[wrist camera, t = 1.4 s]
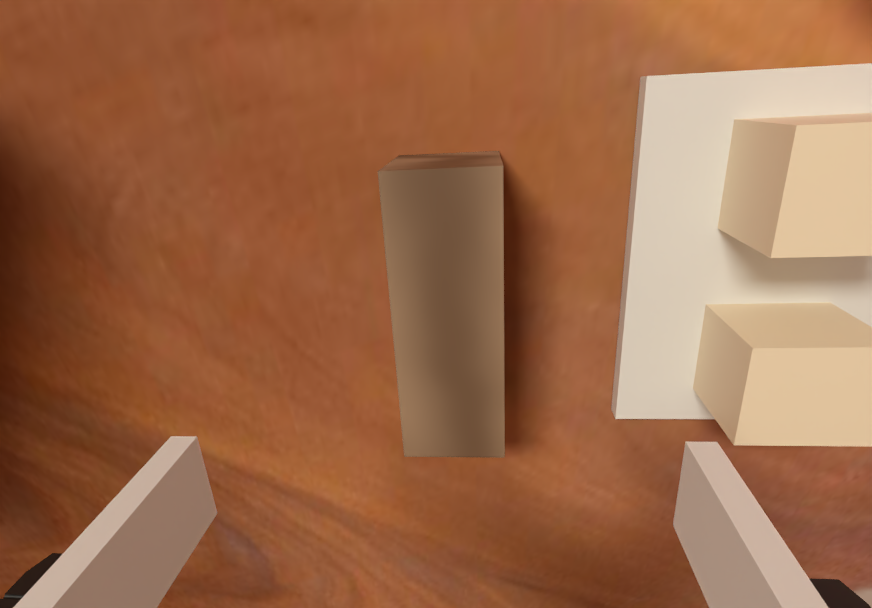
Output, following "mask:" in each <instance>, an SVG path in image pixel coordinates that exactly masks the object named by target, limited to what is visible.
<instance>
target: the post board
mask: <svg viewBox="0 0 872 608" xmlns="http://www.w3.org/2000/svg"><path fill="white" fill-rule="evenodd" d="M611 409H612V412H613V414H614V417H615V419H715V420H716V421H717V423H718V424H719V425H720V427H721V428H722V430H723V431H724V432H725V434H726V435H727V437H728V438H729V439H730V441H731V442H732V443H733V445H762V446H872V63H870V64H852V65H835V66H817V67H800V68H782V69H765V70H747V71H729V72H712V73H694V74H677V75H659V76H644V77H640V88H639V99H638V111H637V122H636V134H635V145H634V157H633V168H632V179H631V191H630V202H629V214H628V225H627V236H626V248H625V259H624V271H623V282H622V294H621V305H620V316H619V328H618V339H617V351H616V362H615V373H614V385H613V396H612V408H611Z"/></svg>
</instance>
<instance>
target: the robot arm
mask: <svg viewBox="0 0 872 608" xmlns="http://www.w3.org/2000/svg"><path fill="white" fill-rule="evenodd" d="M216 515H217V510H216V506H215V502H214V498H213V495H212V491H211V487H210V483H209V480H208V476H207V472H206V468H205V465H204V461H203V457H202V453H201V450H200V446H199V442H198V438H197V437H193V436H171V437H170V438H169V439H168V440H167V441H166V442H165V444H164V445H163V446H162V447H161V448H160V449H159V450H158V451H157V452H156V453H155V454H154V455H153V457H152V458H151V459H150V460H149V461H148V462H147V463H146V464H145V465H144V466H143V467H142V468H141V470H140V471H139V472H138V473H137V474H136V475H135V476H134V477H133V478H132V479H131V480H130V482H129V483H128V484H127V485H126V486H125V487H124V488H123V489H122V490H121V491H120V492H119V493H118V495H117V496H116V497H115V498H114V499H113V500H112V501H111V502H110V503H109V504H108V505H107V506H106V508H105V509H104V510H103V511H102V512H101V513H100V514H99V515H98V516H97V517H96V518H95V519H94V521H93V522H92V523H91V524H90V525H89V526H88V527H87V528H86V529H85V530H84V531H83V532H82V534H81V535H80V536H79V537H78V538H77V539H76V540H75V541H74V542H73V543H72V544H71V545H70V547H69V548H68V549H67V550H66V551H65V552H64V553H63V554H58V553H52V554H51V555H50V556H48V557H47V558H45V559H44V560H43V561H41V562H40V563H38V564H37V565H35V566H34V567H33V568H31V569H30V570H28V571H27V572H26V573H25V574H24V575H23V576H22V577H21V578H20V579H19V580H18V581H17V582H16V583H15V584H14V585H13V586H12V587H11V588H10V589H9V590H8V591H7V592H6V593H5V596H4V598H3V599H0V608H157V607H158V605H159V604H160V602H161V600H162V599H163V597H164V596H165V594H166V593H167V591H168V589H169V588H170V586H171V585H172V583H173V582H174V580H175V579H176V577H177V575H178V574H179V572H180V571H181V569H182V568H183V566H184V565H185V563H186V561H187V560H188V558H189V557H190V555H191V554H192V552H193V551H194V549H195V547H196V546H197V544H198V543H199V541H200V540H201V538H202V536H203V535H204V533H205V532H206V530H207V529H208V527H209V526H210V524H211V522H212V521H213V519H214V518H215V516H216ZM673 526H674V529H675V531H676V533H677V535H678V538H679V540H680V542H681V545H682V547H683V549H684V551H685V554H686V556H687V558H688V560H689V563H690V565H691V567H692V570H693V572H694V574H695V576H696V579H697V581H698V583H699V586H700V588H701V590H702V592H703V595H704V597H705V599H706V602H707V604H708V606H709V608H871V607H870V606H869V605H868V604H867V603H866V602H865V601H864V600H863V599H861V598H860V597H859V596H858V595H856V594H855V593H854V592H853V591H852V590H851V589H849V588H848V587H847V586H846V585H845V584H843V583H842V582H841V581H840V580H834V579H809V578H808V576H807V575H806V573H805V572H804V570H803V569H802V567H801V566H800V565H799V563H798V562H797V560H796V559H795V557H794V556H793V554H792V553H791V551H790V550H789V548H788V547H787V545H786V544H785V542H784V541H783V539H782V538H781V536H780V535H779V533H778V532H777V530H776V529H775V527H774V526H773V524H772V523H771V521H770V520H769V518H768V517H767V515H766V514H765V512H764V511H763V509H762V508H761V506H760V505H759V503H758V502H757V501H756V499H755V498H754V496H753V495H752V493H751V492H750V490H749V489H748V487H747V486H746V484H745V483H744V481H743V480H742V478H741V477H740V475H739V474H738V472H737V471H736V469H735V468H734V466H733V465H732V463H731V462H730V460H729V459H728V457H727V456H726V454H725V453H724V451H723V450H722V448H721V447H720V445H719V444H718V442H686V443H685V449H684V456H683V462H682V469H681V476H680V482H679V489H678V495H677V502H676V508H675V515H674V522H673Z"/></svg>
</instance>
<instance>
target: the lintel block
mask: <svg viewBox="0 0 872 608" xmlns="http://www.w3.org/2000/svg"><path fill="white" fill-rule="evenodd" d="M378 179H379V190H380V201H381V211H382V222H383V233H384V244H385V254H386V265H387V276H388V287H389V297H390V308H391V319H392V329H393V340H394V351H395V362H396V372H397V383H398V394H399V405H400V415H401V426H402V437H403V448H404V457H505V404H504V210H503V163H502V160H501V157H500V153H499V151H485V152H464V153H443V154H422V155H401V156H398V157H397V158H395V159H394V160H392V161H391V162H390V163H388V164H387V165H386V166H384V167H383V168H382V169H380V170H379V171H378Z"/></svg>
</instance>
